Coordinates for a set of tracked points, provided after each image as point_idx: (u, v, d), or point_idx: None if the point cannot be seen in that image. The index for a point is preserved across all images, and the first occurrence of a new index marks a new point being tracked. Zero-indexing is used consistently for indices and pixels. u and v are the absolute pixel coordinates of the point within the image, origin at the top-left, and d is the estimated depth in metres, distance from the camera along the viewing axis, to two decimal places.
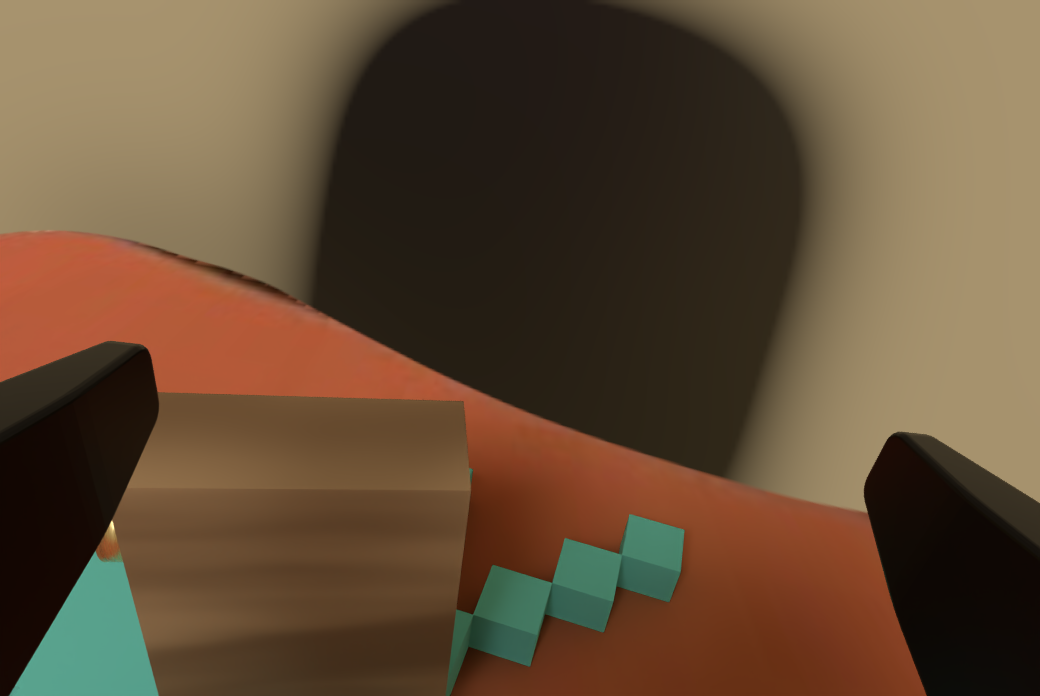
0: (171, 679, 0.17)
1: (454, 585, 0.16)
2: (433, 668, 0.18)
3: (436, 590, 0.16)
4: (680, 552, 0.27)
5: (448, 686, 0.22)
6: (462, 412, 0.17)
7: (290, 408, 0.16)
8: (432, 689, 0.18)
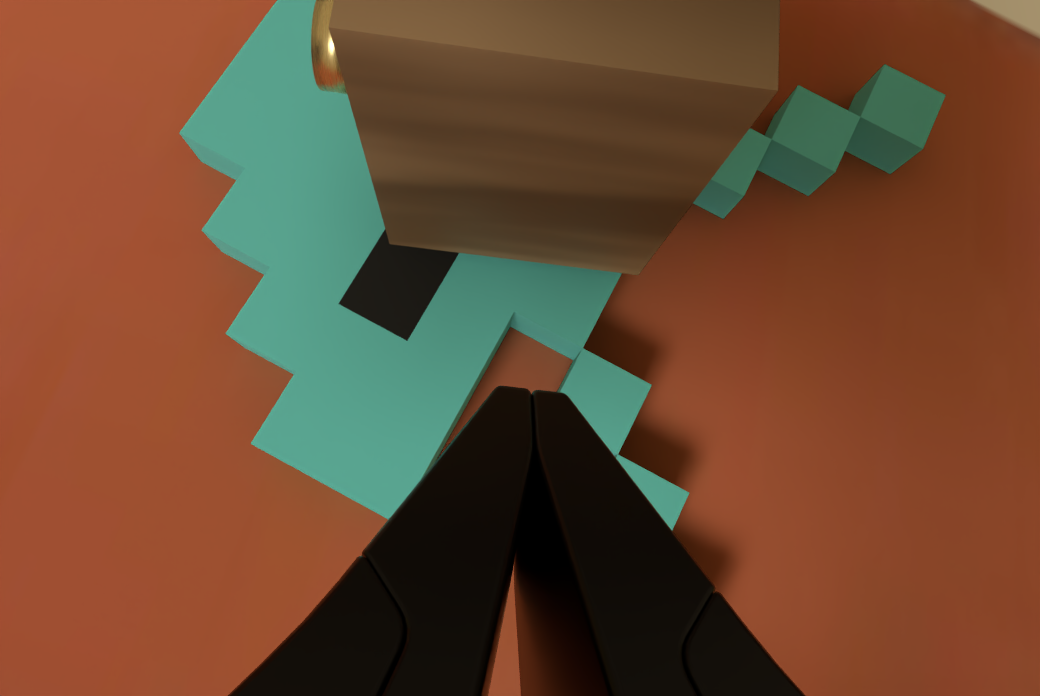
0: (393, 205, 0.17)
1: (706, 177, 0.14)
2: (649, 236, 0.17)
3: (684, 179, 0.14)
4: (930, 124, 0.22)
5: None
6: None
7: None
8: (641, 250, 0.18)
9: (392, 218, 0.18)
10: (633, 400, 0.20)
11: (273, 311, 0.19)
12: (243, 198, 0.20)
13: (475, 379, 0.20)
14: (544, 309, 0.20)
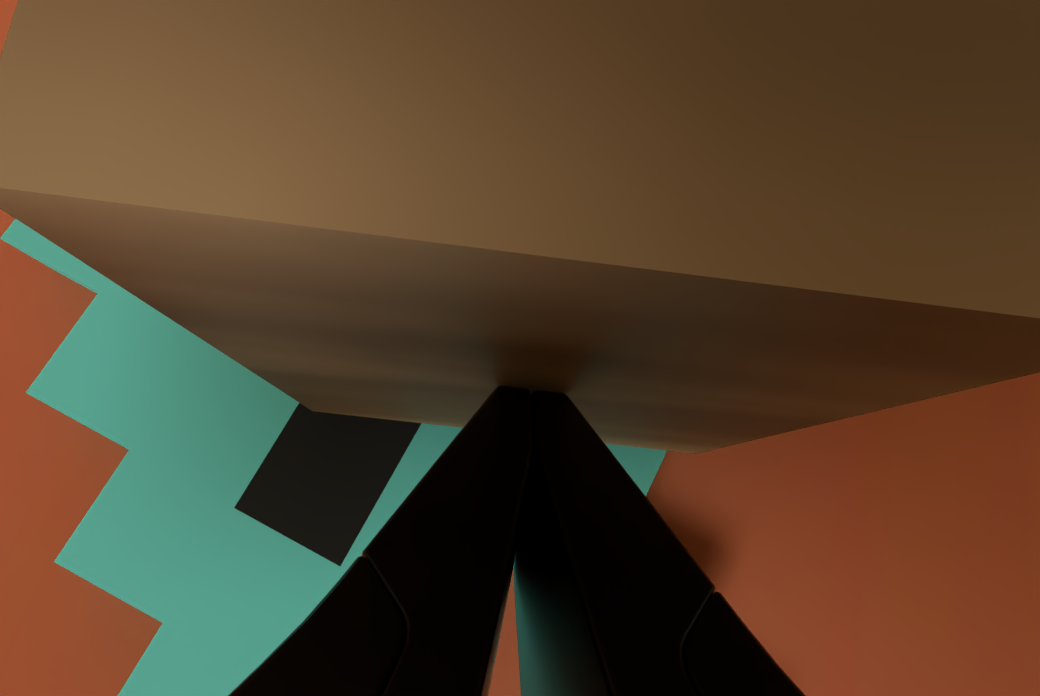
0: (299, 388, 0.10)
1: (876, 408, 0.07)
2: (729, 436, 0.10)
3: (831, 405, 0.07)
4: None
5: None
6: None
7: None
8: (710, 442, 0.11)
9: (304, 396, 0.11)
10: None
11: (131, 522, 0.13)
12: (93, 340, 0.13)
13: None
14: None
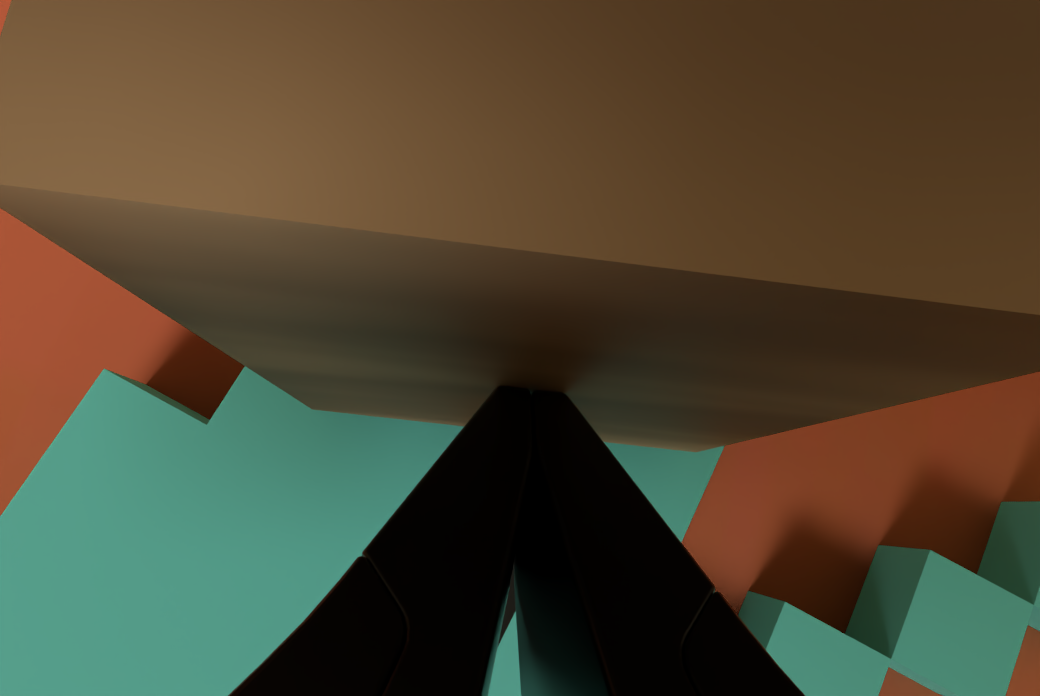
0: (299, 386, 0.10)
1: (879, 406, 0.07)
2: (730, 434, 0.10)
3: (832, 403, 0.07)
4: None
5: None
6: None
7: None
8: (710, 441, 0.11)
9: (303, 394, 0.11)
10: None
11: None
12: None
13: None
14: None
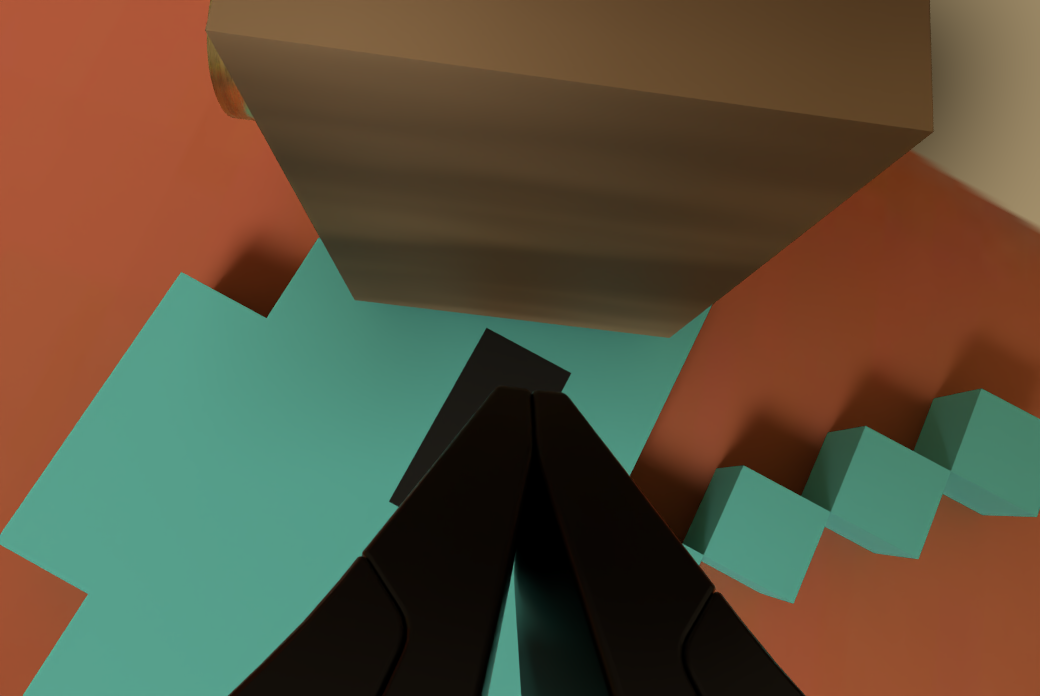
0: (352, 261, 0.13)
1: (784, 241, 0.10)
2: (690, 301, 0.13)
3: (752, 242, 0.10)
4: None
5: None
6: None
7: None
8: (678, 315, 0.14)
9: (353, 275, 0.13)
10: None
11: None
12: (84, 643, 0.14)
13: None
14: None
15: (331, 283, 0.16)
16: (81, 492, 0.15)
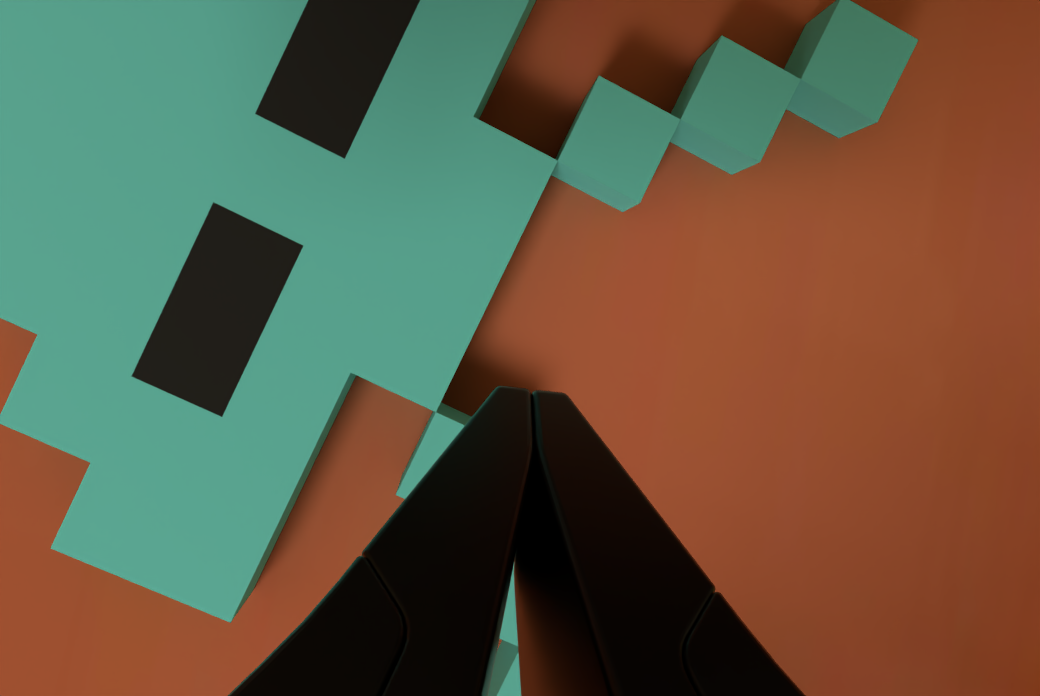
0: None
1: None
2: None
3: None
4: (892, 85, 0.17)
5: None
6: None
7: None
8: None
9: None
10: None
11: (51, 390, 0.16)
12: None
13: (308, 457, 0.17)
14: (387, 367, 0.17)
15: None
16: None
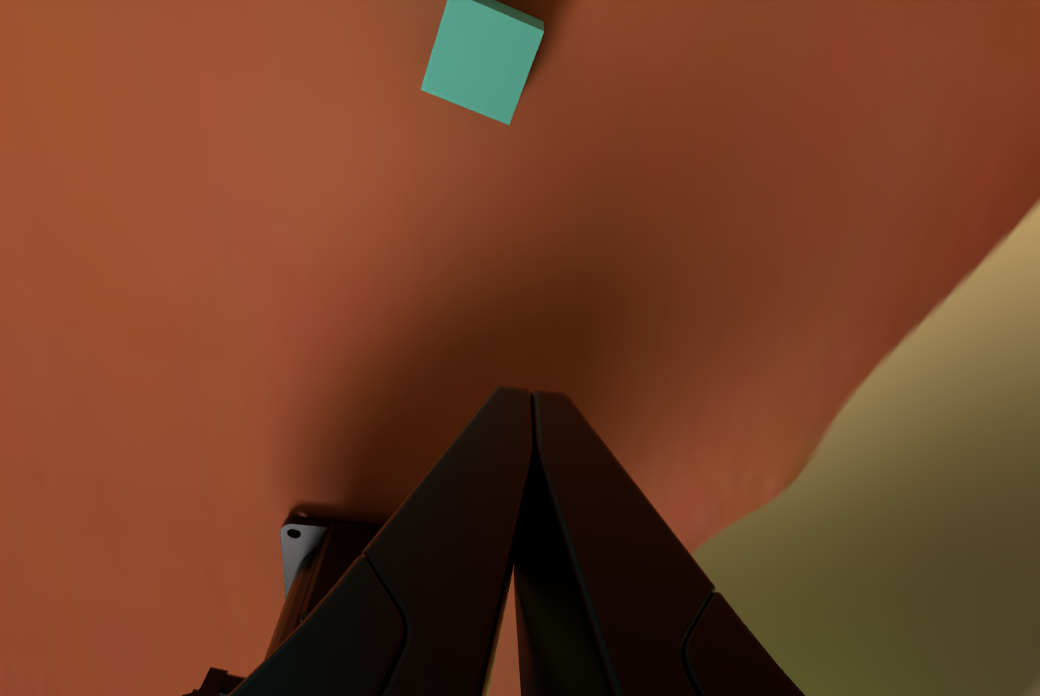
0: None
1: None
2: None
3: None
4: None
5: None
6: None
7: None
8: None
9: None
10: None
11: None
12: None
13: None
14: None
15: None
16: None
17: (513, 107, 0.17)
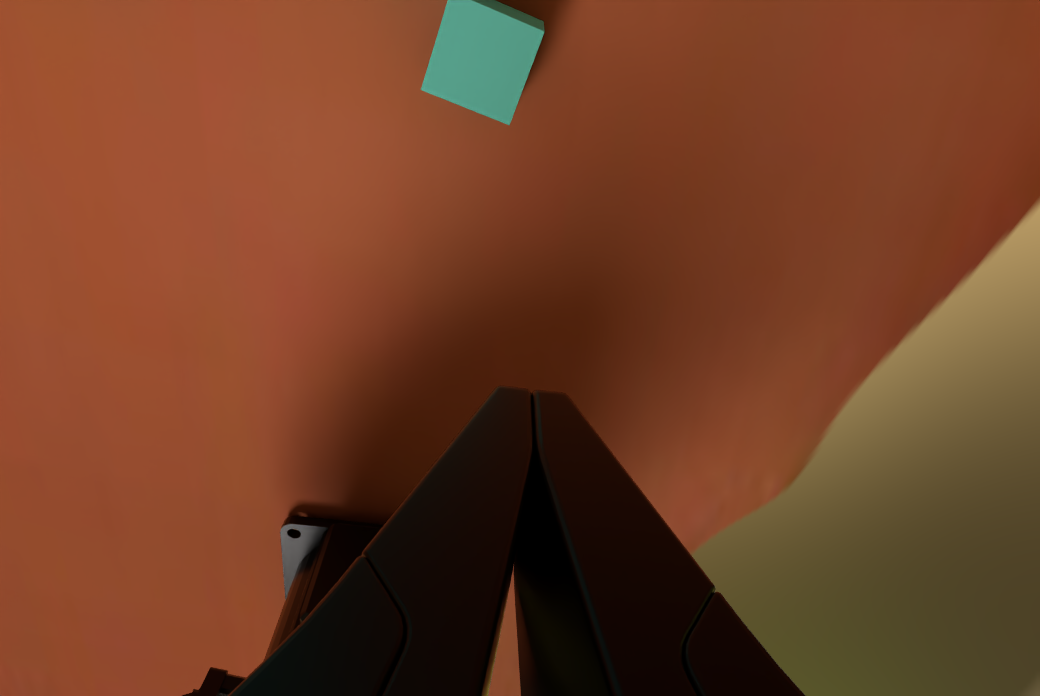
0: None
1: None
2: None
3: None
4: None
5: None
6: None
7: None
8: None
9: None
10: None
11: None
12: None
13: None
14: None
15: None
16: None
17: (513, 107, 0.17)
